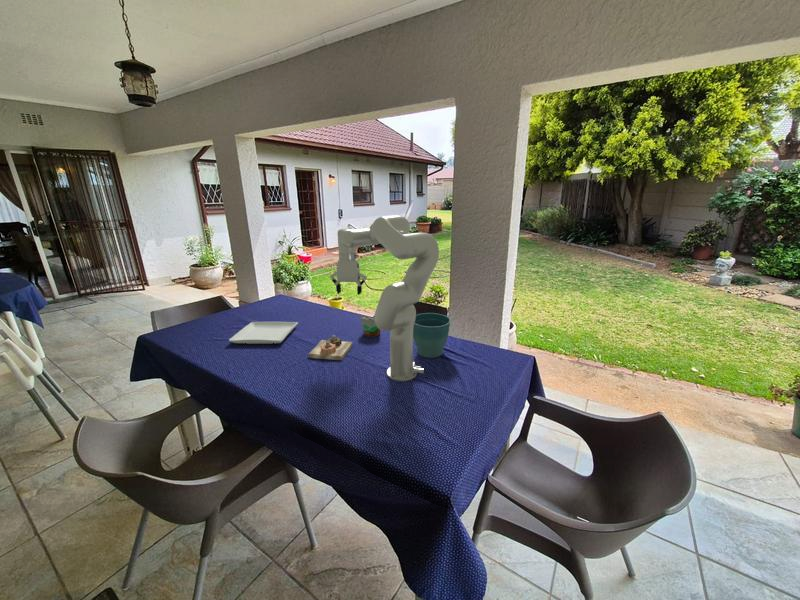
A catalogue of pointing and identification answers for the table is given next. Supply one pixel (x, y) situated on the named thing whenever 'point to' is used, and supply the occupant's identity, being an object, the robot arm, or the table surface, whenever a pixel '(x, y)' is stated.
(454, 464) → the table surface
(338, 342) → the gear board
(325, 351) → the terracotta gear
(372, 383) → the table surface
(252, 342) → the square plate
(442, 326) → the flower pot
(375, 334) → the food container
